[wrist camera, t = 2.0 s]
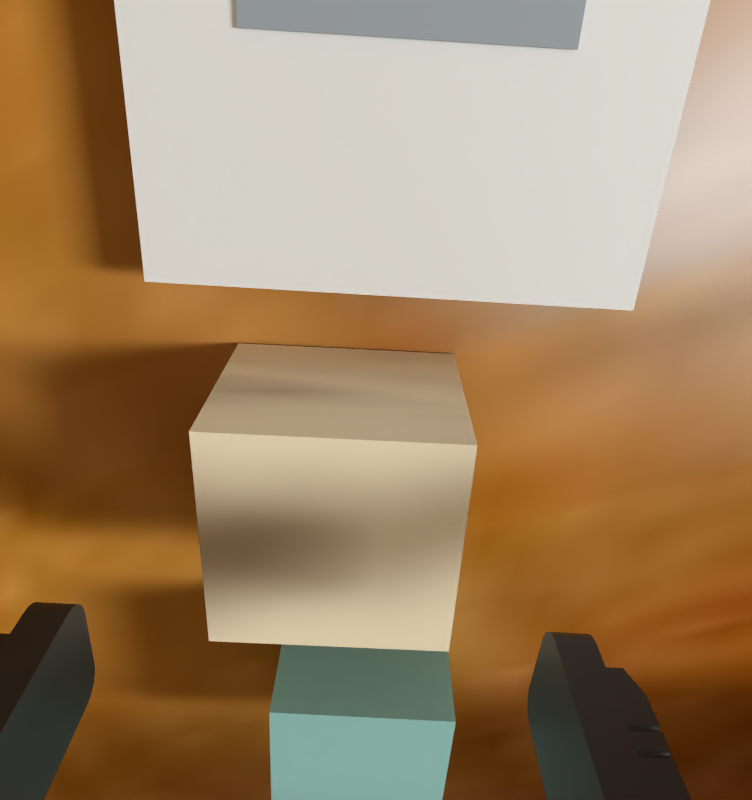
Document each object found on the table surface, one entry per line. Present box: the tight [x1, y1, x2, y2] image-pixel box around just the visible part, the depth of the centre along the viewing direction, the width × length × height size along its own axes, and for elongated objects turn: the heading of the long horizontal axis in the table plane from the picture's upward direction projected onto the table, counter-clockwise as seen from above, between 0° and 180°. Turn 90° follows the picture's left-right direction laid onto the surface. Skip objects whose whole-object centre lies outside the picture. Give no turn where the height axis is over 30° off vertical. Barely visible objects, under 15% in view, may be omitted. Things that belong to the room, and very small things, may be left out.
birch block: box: [189, 343, 477, 652], centre depth 17 cm, size 6×6×5 cm
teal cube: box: [269, 644, 456, 800], centre depth 20 cm, size 5×5×5 cm
